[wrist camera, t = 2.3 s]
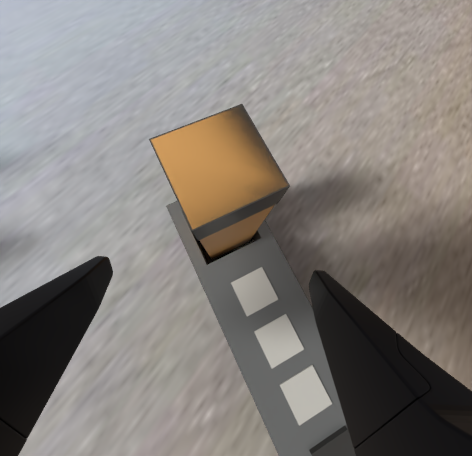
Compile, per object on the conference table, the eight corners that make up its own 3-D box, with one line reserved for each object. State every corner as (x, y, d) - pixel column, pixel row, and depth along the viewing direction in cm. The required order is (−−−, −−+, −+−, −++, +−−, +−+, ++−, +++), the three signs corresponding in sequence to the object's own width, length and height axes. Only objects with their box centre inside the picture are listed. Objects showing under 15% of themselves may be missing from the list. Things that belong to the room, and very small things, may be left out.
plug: (249, 241, 21) (290, 186, 8) (211, 260, 20) (192, 231, 8) (231, 205, 22) (242, 103, 9) (193, 222, 21) (148, 139, 8)
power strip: (363, 425, 18) (395, 458, 15) (292, 475, 17) (308, 523, 14) (237, 187, 22) (240, 171, 19) (174, 215, 21) (164, 204, 18)
